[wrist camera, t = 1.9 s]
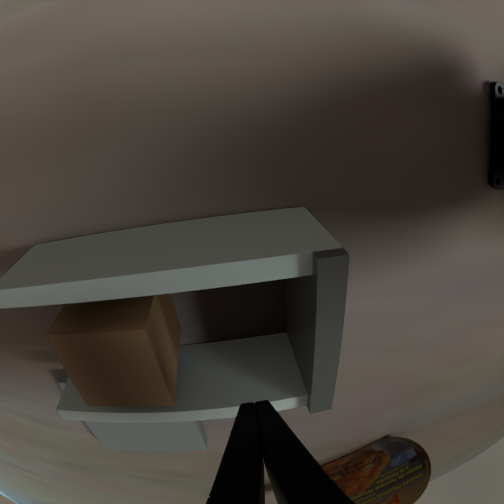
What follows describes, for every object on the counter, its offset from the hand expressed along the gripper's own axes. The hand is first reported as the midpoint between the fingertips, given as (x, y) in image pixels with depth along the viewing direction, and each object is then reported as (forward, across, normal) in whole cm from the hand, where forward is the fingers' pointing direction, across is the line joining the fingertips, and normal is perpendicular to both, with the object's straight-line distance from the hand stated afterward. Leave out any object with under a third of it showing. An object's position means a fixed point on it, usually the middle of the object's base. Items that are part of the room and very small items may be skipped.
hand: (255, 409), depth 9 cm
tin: (+7, -8, +23) cm, 25 cm away
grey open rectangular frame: (+7, +3, 0) cm, 8 cm away
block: (+7, +5, 0) cm, 9 cm away
